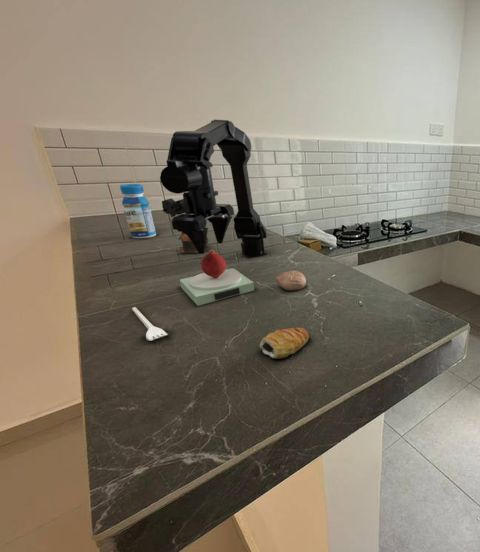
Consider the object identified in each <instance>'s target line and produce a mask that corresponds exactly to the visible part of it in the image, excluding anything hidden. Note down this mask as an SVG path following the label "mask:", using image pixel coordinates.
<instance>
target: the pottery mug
mask: <svg viewBox="0 0 480 552" xmlns="http://www.w3.org/2000/svg"><path fill="white" fill-rule="evenodd" d="M180 233H181V235H180V236H179V238H178V241H181V244H182V246H180V247H179V252H180V254H198V251H197V249H196V248H195V246H194V244H193V243H192V241H191V240H190V238H189V237H188V236H187V235H186V234H184V233H183V232H180ZM208 244H209V237H207V239H206V247H207V246H208Z"/></svg>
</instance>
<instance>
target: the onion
mask: <svg viewBox="0 0 480 552" xmlns="http://www.w3.org/2000/svg"><path fill="white" fill-rule="evenodd" d="M200 268H201V270H202V273H205V274H207V275H208V276H210V277H213V278H218V277H219V276H220V275H221V274H222V273H223V272H224V271H225V270H227V262H226V260H225V259H224V257H223V256H221V255H220V254H218V253H216V251H215V249H214V248H213V249H210V250H209V251H208V253H207V254H206V255H204V257H203V258H202V259H201V263H200Z"/></svg>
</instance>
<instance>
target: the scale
mask: <svg viewBox="0 0 480 552" xmlns="http://www.w3.org/2000/svg"><path fill="white" fill-rule="evenodd" d="M179 284H180V287H181V288H180V289H182V290H183V292H184V293H186V295H187V296H188V297H189V298H190V299H191V300H192V302H193V303H195V305H196V306H203V305H206V304H210V303H213V302H217V301H222V300H225V299H228V298H231V297H236V296H239V295H243V294H247V293H250V292H255V285H254V281H252V280H251V279H249V278H248V277H246V276H245V275H243V274H242V273H241V272H239V271H238V270H237V269H235V268H234V267H231V268H226V269H225V271H224V272H223V273H222V274H221V275H220V276H219V277H218V278H213V277H210V276H208V275H207V274H205V273H204V272H201V273H199V274H196V275H195V276H189V277H185V278H181V279H179Z"/></svg>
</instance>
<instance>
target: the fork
mask: <svg viewBox="0 0 480 552" xmlns="http://www.w3.org/2000/svg"><path fill="white" fill-rule="evenodd" d="M131 310H132V311H133V312H134V314H135V315H136V317H138V319H139V320H140V321H141V323H142V324H143V325H144V326H145V327H146V329H147V331H146V333H145V338H146V340H147V341H150V342H153V341H154V340H156V339H157V340H158V339H160V338H163V337H166V336H169V333H167V332H166V331H165V330H164V329H162V328H160V327H157V326H154V325H153V324H152V323H151V322H150V321H149V320H148V319H147V318H146V317H145V316H144V314H142V312H141V311H140V310H139V309H138V308H137V307H136V306H134V307H132V308H131Z"/></svg>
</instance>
